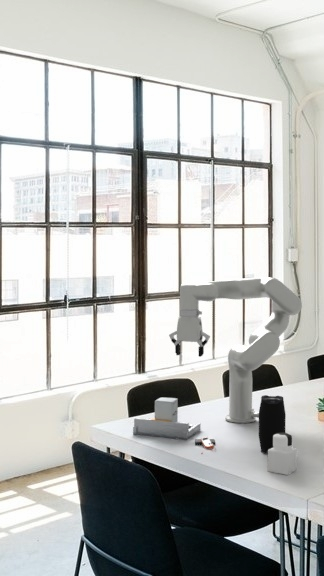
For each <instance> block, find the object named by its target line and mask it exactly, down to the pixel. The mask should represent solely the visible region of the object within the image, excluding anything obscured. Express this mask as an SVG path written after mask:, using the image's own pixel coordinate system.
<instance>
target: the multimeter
mask: <svg viewBox="0 0 324 576" xmlns="http://www.w3.org/2000/svg"><path fill="white" fill-rule="evenodd" d="M194 445H195V446H203V447H204V448H205V449H207V450H209V449H210V450H211V451H212V452H214V451H215V452H216V451H217V448H216V447H215V446H216V440H215V439H214V438H210V437H208V436H205V437H201V438H195V439H194ZM213 449H215V450H213ZM201 455H204V454H203V452H201Z"/></svg>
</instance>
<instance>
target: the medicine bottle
mask: <svg viewBox="0 0 324 576" xmlns="http://www.w3.org/2000/svg"><path fill="white" fill-rule="evenodd" d="M297 453H298V449H297V448H296V447H293V436H292V435H291V434H290V433H287V432H285V433H276V434H274V435H273V448H271V449H269V450H268V452H267V471H268V472H270V473H275V474H279V475H280V474H281V475H284V476H288V475H290V474H292V473H293V472H295V471H297V469H298V468H297V464H298V463H297V461H298V459H297V458H298V456H297V455H298V454H297Z"/></svg>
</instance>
